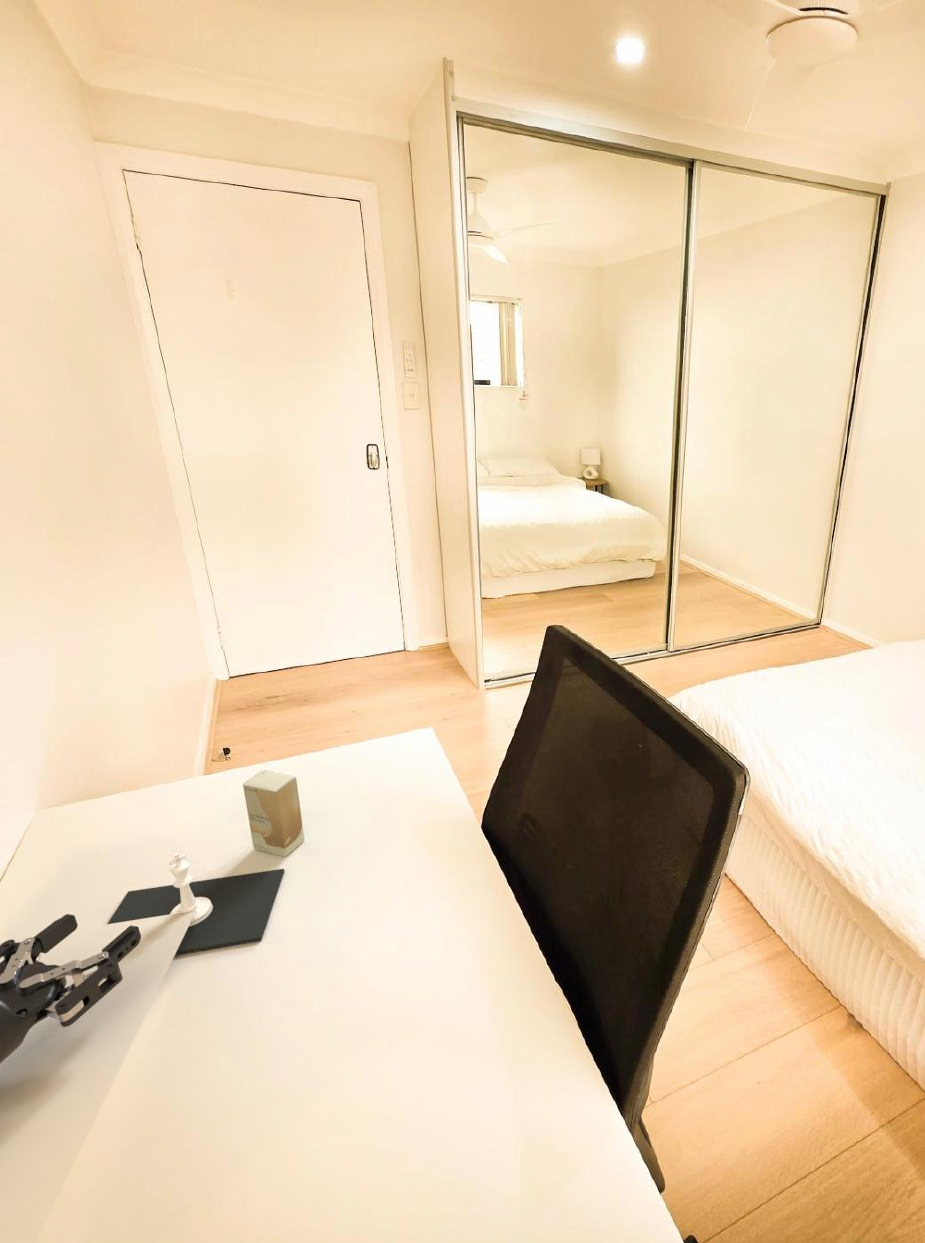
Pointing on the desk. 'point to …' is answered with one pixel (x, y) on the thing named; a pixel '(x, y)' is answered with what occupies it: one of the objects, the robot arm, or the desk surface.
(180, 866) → the chess piece
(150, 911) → the mat
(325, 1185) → the desk surface
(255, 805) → the cosmetic box
